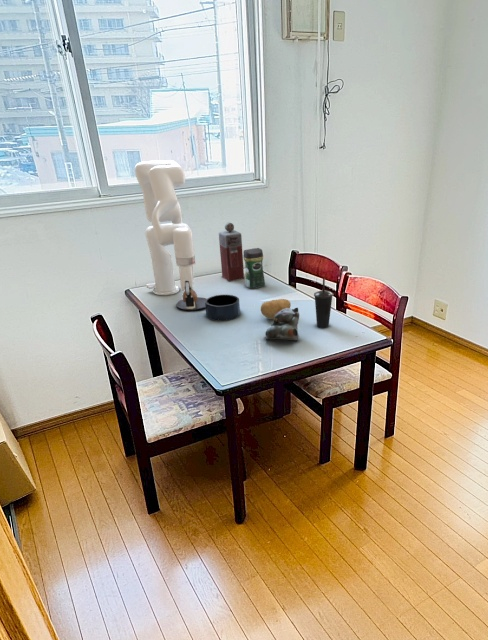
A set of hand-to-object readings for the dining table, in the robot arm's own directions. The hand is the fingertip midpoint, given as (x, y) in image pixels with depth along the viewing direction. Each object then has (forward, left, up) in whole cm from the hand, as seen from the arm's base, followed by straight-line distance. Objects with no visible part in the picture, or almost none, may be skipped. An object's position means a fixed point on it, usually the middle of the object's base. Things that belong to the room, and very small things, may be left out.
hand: (190, 303), depth 207 cm
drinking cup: (+54, -14, -8) cm, 56 cm away
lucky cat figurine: (+36, -24, -8) cm, 44 cm away
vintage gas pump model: (+20, +57, -8) cm, 60 cm away
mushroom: (0, 0, -2) cm, 2 cm away
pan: (+13, +6, -8) cm, 16 cm away
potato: (+36, -2, -8) cm, 37 cm away
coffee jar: (+30, +42, -8) cm, 52 cm away
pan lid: (0, +19, -8) cm, 21 cm away
